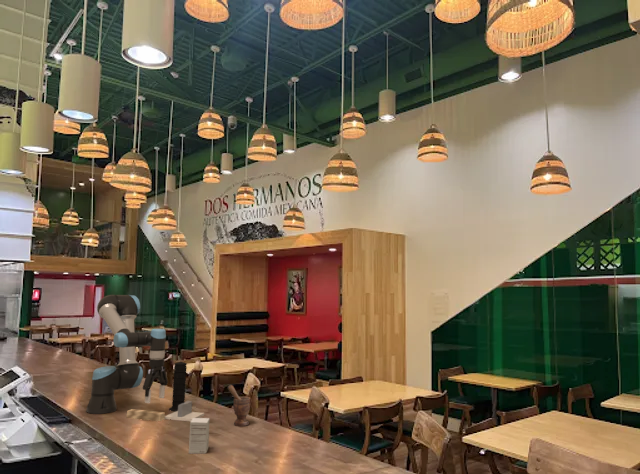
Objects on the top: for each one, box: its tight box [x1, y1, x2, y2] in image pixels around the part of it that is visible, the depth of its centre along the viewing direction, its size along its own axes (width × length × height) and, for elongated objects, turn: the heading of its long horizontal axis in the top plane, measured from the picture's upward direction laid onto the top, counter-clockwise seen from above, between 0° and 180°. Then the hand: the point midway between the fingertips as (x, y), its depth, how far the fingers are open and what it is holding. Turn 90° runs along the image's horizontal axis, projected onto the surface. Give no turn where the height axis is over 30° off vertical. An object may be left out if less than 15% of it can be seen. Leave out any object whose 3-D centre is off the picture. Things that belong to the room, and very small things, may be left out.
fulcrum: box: [164, 400, 205, 422], centre depth 264 cm, size 16×14×7 cm
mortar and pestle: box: [227, 384, 252, 427], centre depth 252 cm, size 12×9×20 cm
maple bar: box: [126, 408, 166, 422], centre depth 258 cm, size 20×4×4 cm, turn 74°
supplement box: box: [188, 417, 210, 455], centre depth 209 cm, size 7×7×13 cm
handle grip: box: [168, 361, 188, 412], centre depth 283 cm, size 10×26×10 cm
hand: (154, 400), depth 258 cm, fingers open, 13 cm apart
